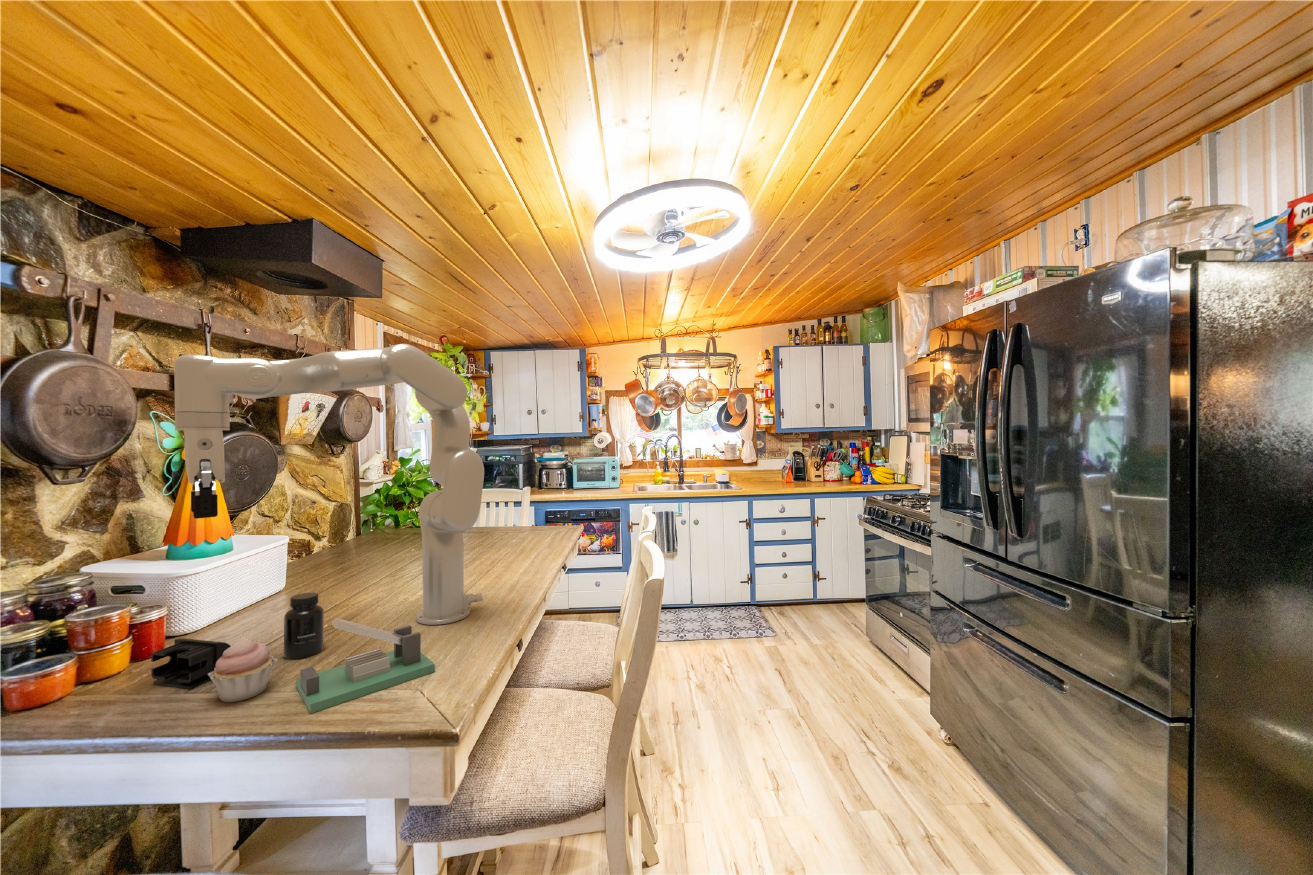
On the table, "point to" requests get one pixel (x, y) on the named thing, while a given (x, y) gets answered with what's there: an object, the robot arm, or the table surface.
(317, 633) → the supplement bottle
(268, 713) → the table surface
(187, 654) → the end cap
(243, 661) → the cupcake
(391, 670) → the board
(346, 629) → the grey long bar
